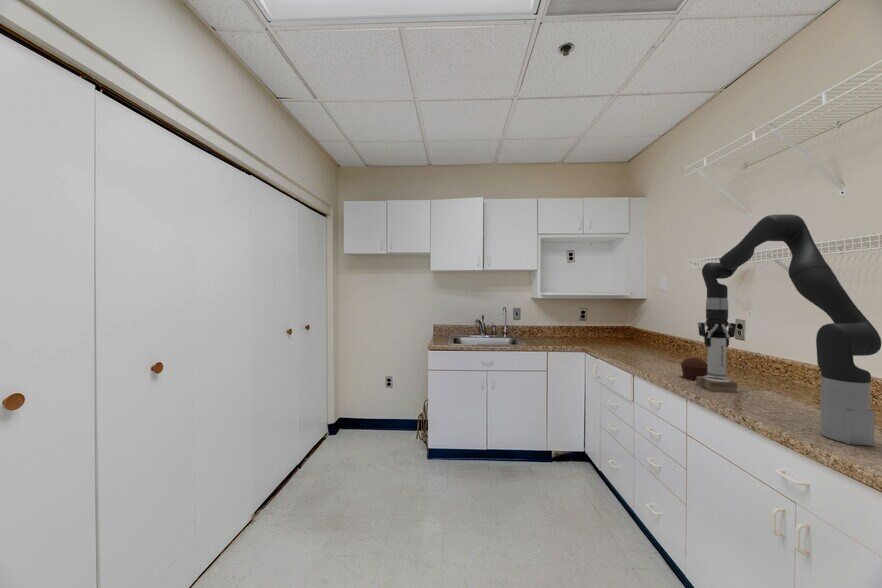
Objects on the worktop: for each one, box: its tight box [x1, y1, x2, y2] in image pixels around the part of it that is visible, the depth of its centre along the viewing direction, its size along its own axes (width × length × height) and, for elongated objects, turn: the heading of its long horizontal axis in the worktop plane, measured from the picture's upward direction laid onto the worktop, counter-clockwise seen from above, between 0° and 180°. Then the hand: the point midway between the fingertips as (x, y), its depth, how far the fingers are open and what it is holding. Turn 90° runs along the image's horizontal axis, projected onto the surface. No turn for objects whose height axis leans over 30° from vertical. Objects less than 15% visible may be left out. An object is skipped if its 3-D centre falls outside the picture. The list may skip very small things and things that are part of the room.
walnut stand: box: [695, 375, 738, 393], centre depth 147 cm, size 10×10×4 cm
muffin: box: [680, 357, 709, 381], centre depth 164 cm, size 12×11×10 cm
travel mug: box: [706, 328, 727, 378], centre depth 147 cm, size 6×7×20 cm
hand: (716, 346), depth 147 cm, fingers closed on travel mug, 6 cm apart
